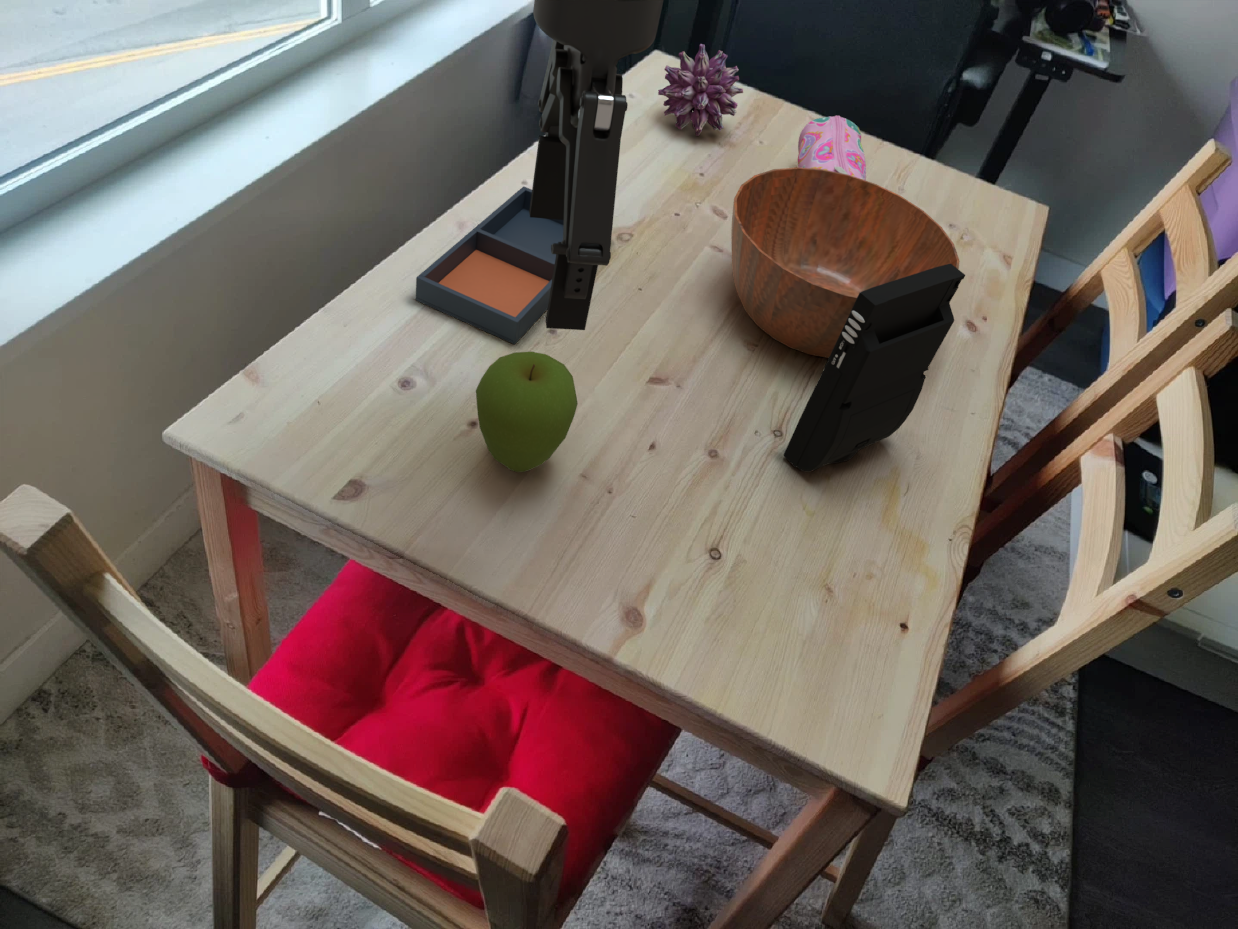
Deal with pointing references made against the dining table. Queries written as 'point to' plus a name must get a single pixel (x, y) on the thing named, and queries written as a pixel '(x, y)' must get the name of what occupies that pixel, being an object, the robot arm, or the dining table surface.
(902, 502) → the dining table surface
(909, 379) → the black electronic device
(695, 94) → the flower
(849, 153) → the pencil case
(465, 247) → the tray
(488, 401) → the apple
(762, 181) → the bowl
